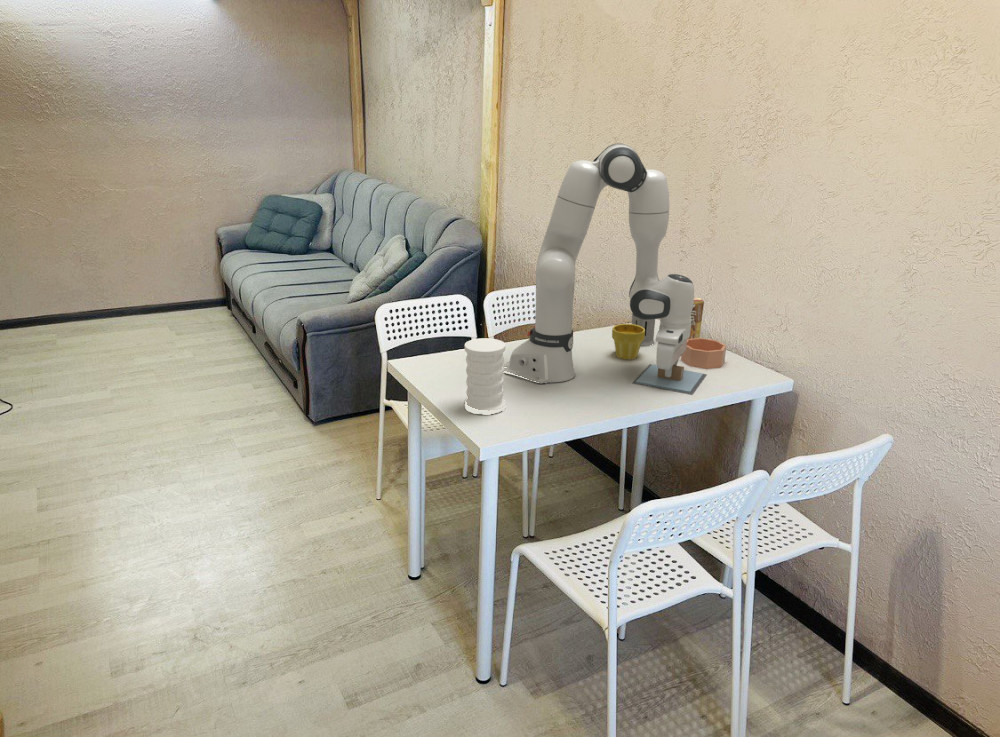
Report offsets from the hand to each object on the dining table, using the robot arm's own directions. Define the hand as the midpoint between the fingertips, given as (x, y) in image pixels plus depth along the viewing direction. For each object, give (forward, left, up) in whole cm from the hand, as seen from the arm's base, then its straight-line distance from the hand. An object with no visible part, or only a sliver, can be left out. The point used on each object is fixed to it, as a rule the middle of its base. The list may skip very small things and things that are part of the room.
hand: (670, 373), depth 211 cm
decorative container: (-39, -44, -2) cm, 59 cm away
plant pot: (-18, +13, -2) cm, 22 cm away
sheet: (0, 0, -2) cm, 2 cm away
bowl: (+5, +20, -2) cm, 21 cm away
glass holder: (-18, +27, -2) cm, 33 cm away
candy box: (-5, +37, -2) cm, 37 cm away
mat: (0, 0, -2) cm, 2 cm away
